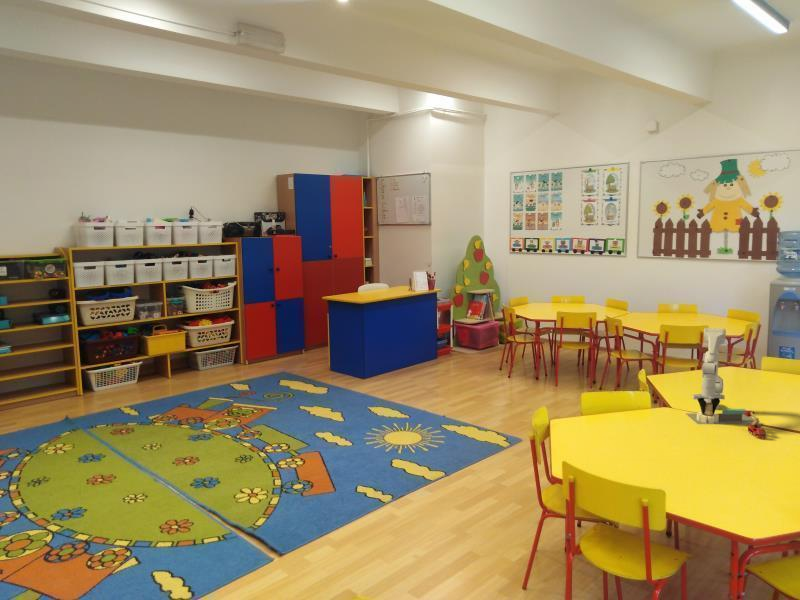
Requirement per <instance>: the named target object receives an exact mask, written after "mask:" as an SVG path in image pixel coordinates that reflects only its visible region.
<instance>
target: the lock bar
mask: <svg viewBox="0 0 800 600" xmlns="http://www.w3.org/2000/svg"><path fill="white" fill-rule="evenodd" d="M744 411H751V410H749V408H722V409H721V413H723V414H744Z"/></svg>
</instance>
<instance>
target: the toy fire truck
mask: <svg viewBox="0 0 800 600" xmlns="http://www.w3.org/2000/svg"><path fill="white" fill-rule="evenodd" d="M744 415H746V416H747V417H752V418H753V419H754V421H753V423H752V424H749V426H748V427H747V432H748V433H749V434H751V436H755V437H756V439H760V440H761V439H766V436H767V435H766V434H767V433H766V429H765V428H763V427H762V428H760V427H758V425H757V424H758V423H760V419H759V417H757V415H755V411H753V410H750V411H744ZM754 426H755V427H754Z"/></svg>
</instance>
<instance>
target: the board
mask: <svg viewBox="0 0 800 600" xmlns="http://www.w3.org/2000/svg"><path fill="white" fill-rule="evenodd" d="M685 415H686V416H687V417H688V418H690V419H691V420H692V421H693V422H694V423H696V424H697V425H751V424H752V423H753V421H754V418H753V417H752V416H751V417H747V416H746V415H744V414H723V413H722V412H721V413H720V412H718V413H714V414H713V415H712V416H705V415H703V413H702V412H701V411H698V412H697V413H689V412H687V413H685ZM757 425H758V427H759V428H760V427H762V428H763V425H762V423H761V422H759V423H758V424H757ZM754 427H755V426H754Z"/></svg>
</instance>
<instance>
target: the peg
mask: <svg viewBox="0 0 800 600" xmlns="http://www.w3.org/2000/svg"><path fill="white" fill-rule="evenodd" d="M703 415H705V416H712V415H713V403H710V402H706V404H705V413H704V414H703Z"/></svg>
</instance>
